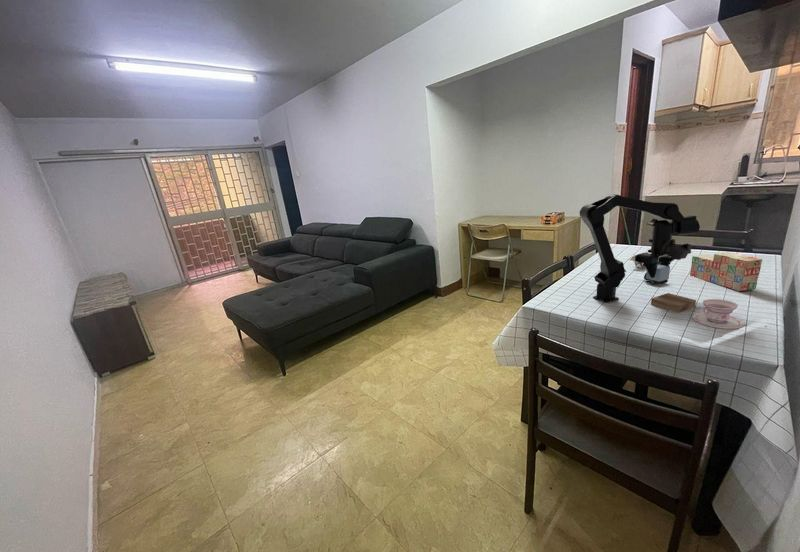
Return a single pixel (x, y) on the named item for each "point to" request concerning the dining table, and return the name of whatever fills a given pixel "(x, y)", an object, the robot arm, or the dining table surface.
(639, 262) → the bull figurine
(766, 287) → the dining table surface
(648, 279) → the tape measure
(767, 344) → the dining table surface
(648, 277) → the slate cube
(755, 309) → the dining table surface
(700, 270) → the stack of blocks
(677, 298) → the walnut block
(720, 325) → the teacup
